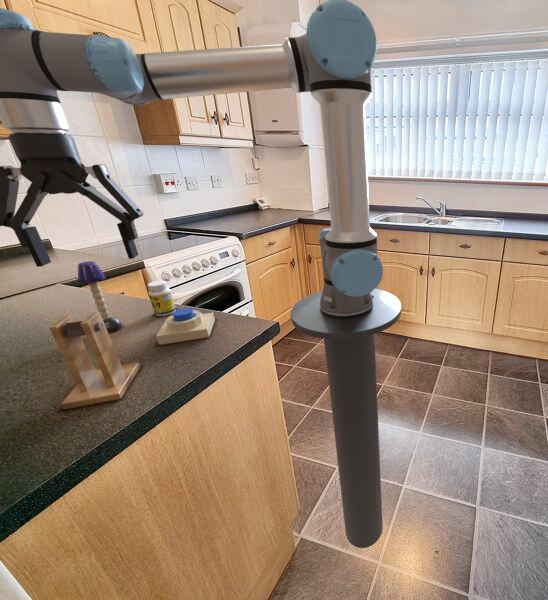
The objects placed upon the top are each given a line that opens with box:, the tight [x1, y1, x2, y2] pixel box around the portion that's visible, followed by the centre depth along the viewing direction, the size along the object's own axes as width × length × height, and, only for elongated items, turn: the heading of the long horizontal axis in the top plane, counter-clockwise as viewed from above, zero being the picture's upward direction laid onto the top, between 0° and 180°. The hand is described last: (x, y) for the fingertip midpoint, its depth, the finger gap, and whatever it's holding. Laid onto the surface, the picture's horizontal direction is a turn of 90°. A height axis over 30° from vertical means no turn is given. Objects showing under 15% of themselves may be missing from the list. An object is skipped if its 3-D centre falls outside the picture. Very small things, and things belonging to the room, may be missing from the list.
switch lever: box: [65, 316, 122, 338], centre depth 61 cm, size 13×3×3 cm, turn 18°
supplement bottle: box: [147, 280, 177, 317], centre depth 88 cm, size 5×5×8 cm
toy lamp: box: [77, 260, 110, 319], centre depth 78 cm, size 5×5×17 cm
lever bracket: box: [48, 311, 141, 410], centre depth 58 cm, size 10×8×14 cm
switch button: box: [172, 307, 195, 322], centre depth 78 cm, size 4×4×2 cm
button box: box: [155, 309, 216, 346], centre depth 79 cm, size 10×9×4 cm
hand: (90, 260), depth 62 cm, fingers open, 13 cm apart
